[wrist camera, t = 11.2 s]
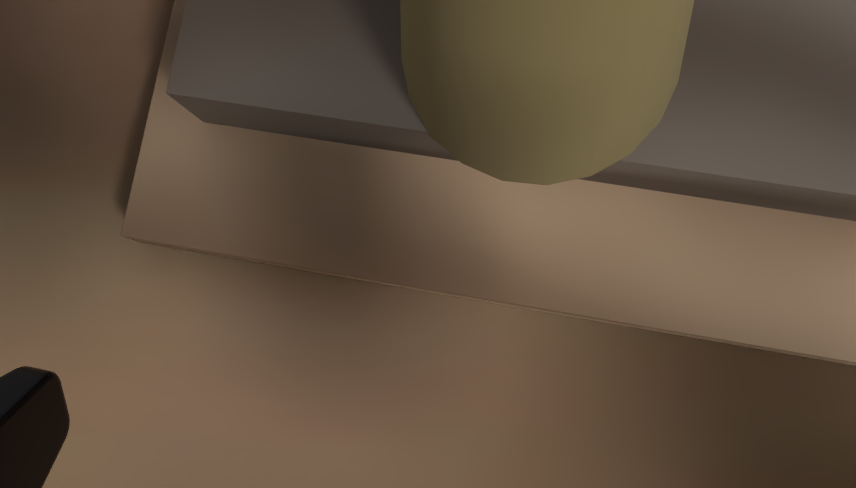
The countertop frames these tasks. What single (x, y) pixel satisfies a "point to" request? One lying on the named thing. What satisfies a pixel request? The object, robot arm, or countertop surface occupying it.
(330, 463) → the countertop surface
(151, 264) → the countertop surface
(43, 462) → the robot arm
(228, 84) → the slab
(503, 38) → the cork
